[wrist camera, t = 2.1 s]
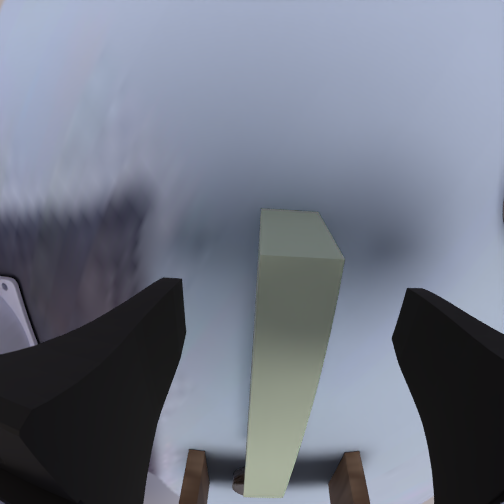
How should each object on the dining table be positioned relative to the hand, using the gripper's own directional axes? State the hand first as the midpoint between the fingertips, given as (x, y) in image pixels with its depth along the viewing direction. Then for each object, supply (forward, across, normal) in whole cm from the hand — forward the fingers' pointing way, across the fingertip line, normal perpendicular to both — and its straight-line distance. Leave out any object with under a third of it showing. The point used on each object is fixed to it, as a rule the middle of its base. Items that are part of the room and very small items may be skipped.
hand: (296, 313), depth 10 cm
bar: (+5, 0, +6) cm, 8 cm away
